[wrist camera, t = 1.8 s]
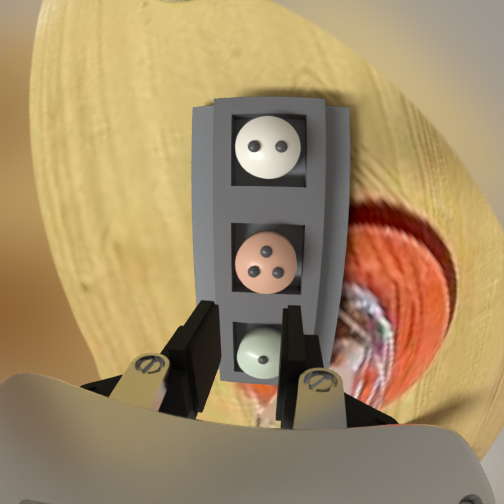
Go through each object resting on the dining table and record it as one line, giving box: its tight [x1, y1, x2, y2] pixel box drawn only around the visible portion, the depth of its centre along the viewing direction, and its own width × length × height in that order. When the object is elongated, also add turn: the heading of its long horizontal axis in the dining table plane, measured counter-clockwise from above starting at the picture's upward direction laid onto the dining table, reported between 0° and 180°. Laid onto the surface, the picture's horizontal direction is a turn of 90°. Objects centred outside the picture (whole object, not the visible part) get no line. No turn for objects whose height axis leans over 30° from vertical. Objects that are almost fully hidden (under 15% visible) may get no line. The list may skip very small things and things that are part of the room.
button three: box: [235, 230, 297, 294], centre depth 22 cm, size 5×5×2 cm
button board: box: [192, 97, 350, 385], centre depth 24 cm, size 27×14×4 cm, turn 0°
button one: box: [237, 327, 281, 379], centre depth 24 cm, size 5×5×2 cm
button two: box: [235, 116, 301, 179], centre depth 20 cm, size 5×5×2 cm
